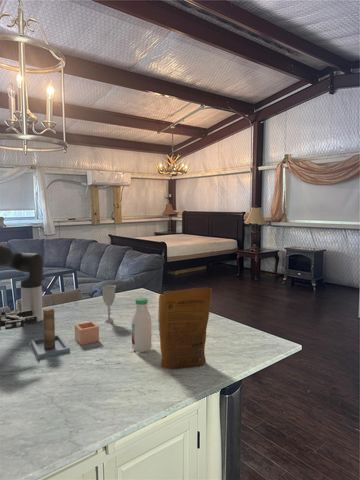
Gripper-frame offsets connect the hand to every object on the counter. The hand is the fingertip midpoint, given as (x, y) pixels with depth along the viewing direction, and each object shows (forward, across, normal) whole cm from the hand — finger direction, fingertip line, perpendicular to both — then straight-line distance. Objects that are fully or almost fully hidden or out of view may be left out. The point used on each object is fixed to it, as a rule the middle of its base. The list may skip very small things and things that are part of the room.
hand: (34, 315), depth 123 cm
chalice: (+36, +16, +15) cm, 42 cm away
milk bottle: (+36, -18, +15) cm, 43 cm away
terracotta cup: (+20, 0, +14) cm, 24 cm away
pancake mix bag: (+42, -39, +15) cm, 59 cm away
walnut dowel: (+5, 0, +14) cm, 14 cm away
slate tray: (+5, 0, +15) cm, 15 cm away
